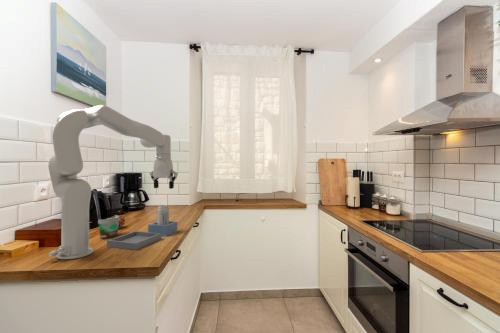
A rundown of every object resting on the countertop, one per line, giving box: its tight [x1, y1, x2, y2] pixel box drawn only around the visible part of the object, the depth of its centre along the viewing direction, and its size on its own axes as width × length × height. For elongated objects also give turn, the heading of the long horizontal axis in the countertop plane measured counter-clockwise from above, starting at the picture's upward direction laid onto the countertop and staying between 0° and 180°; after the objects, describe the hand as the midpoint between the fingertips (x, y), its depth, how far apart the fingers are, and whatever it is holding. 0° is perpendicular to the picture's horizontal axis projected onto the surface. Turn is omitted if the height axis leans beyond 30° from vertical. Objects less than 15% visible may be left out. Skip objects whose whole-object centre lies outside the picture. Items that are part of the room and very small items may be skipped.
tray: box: [106, 230, 162, 251], centre depth 122 cm, size 18×16×3 cm
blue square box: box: [147, 220, 178, 237], centre depth 140 cm, size 11×11×6 cm
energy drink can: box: [156, 204, 170, 225], centre depth 140 cm, size 6×6×15 cm
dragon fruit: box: [110, 214, 126, 230], centre depth 149 cm, size 8×8×12 cm
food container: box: [97, 214, 120, 240], centre depth 132 cm, size 12×6×10 cm, turn 168°
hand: (163, 188), depth 140 cm, fingers open, 9 cm apart
